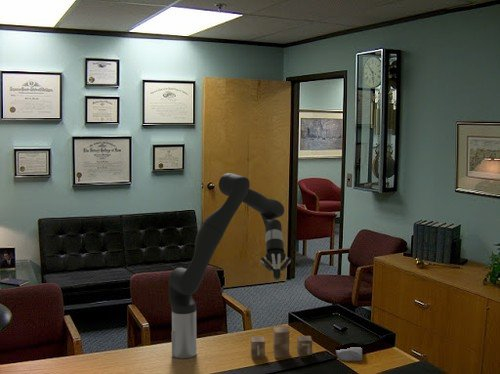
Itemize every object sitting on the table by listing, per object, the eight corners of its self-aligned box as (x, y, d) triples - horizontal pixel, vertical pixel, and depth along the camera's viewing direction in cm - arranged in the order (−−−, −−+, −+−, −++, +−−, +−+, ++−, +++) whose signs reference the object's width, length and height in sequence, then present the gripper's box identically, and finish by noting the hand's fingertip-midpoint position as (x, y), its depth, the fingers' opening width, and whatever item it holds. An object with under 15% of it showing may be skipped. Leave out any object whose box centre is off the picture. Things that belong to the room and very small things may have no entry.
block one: (251, 358, 217) (251, 342, 216) (250, 353, 222) (250, 337, 221) (264, 358, 217) (265, 341, 217) (263, 353, 222) (263, 336, 222)
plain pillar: (274, 358, 217) (274, 332, 216) (273, 352, 223) (273, 327, 222) (289, 357, 218) (289, 332, 217) (287, 352, 223) (287, 327, 222)
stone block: (337, 365, 216) (364, 361, 214) (335, 352, 216) (362, 349, 214) (337, 354, 227) (362, 350, 226) (335, 342, 227) (360, 338, 226)
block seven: (299, 357, 218) (299, 341, 217) (297, 352, 223) (297, 336, 223) (312, 357, 218) (312, 340, 218) (310, 352, 223) (310, 335, 223)
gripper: (259, 237, 240) (261, 274, 229) (291, 237, 241) (294, 274, 230) (258, 247, 246) (260, 283, 235) (289, 247, 246) (292, 283, 236)
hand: (277, 278), depth 232 cm, fingers closed
